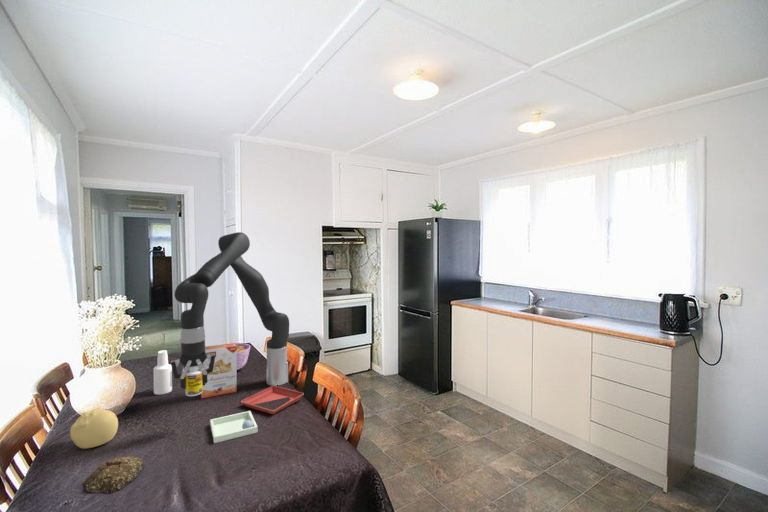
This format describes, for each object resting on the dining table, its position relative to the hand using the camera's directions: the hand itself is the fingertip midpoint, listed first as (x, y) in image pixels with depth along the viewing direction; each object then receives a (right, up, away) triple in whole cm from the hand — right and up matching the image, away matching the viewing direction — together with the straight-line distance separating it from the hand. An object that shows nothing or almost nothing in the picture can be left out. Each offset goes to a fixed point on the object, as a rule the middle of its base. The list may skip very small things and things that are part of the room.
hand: (194, 386), depth 124 cm
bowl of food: (-13, -13, +57) cm, 60 cm away
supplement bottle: (0, -3, 0) cm, 3 cm away
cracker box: (-5, -14, +29) cm, 33 cm away
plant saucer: (+22, -15, +20) cm, 33 cm away
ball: (+20, -14, -3) cm, 25 cm away
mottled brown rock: (-8, -16, -27) cm, 32 cm away
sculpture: (-27, -15, -10) cm, 32 cm away
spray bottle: (-30, -14, +30) cm, 45 cm away
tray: (+14, -15, -1) cm, 21 cm away
